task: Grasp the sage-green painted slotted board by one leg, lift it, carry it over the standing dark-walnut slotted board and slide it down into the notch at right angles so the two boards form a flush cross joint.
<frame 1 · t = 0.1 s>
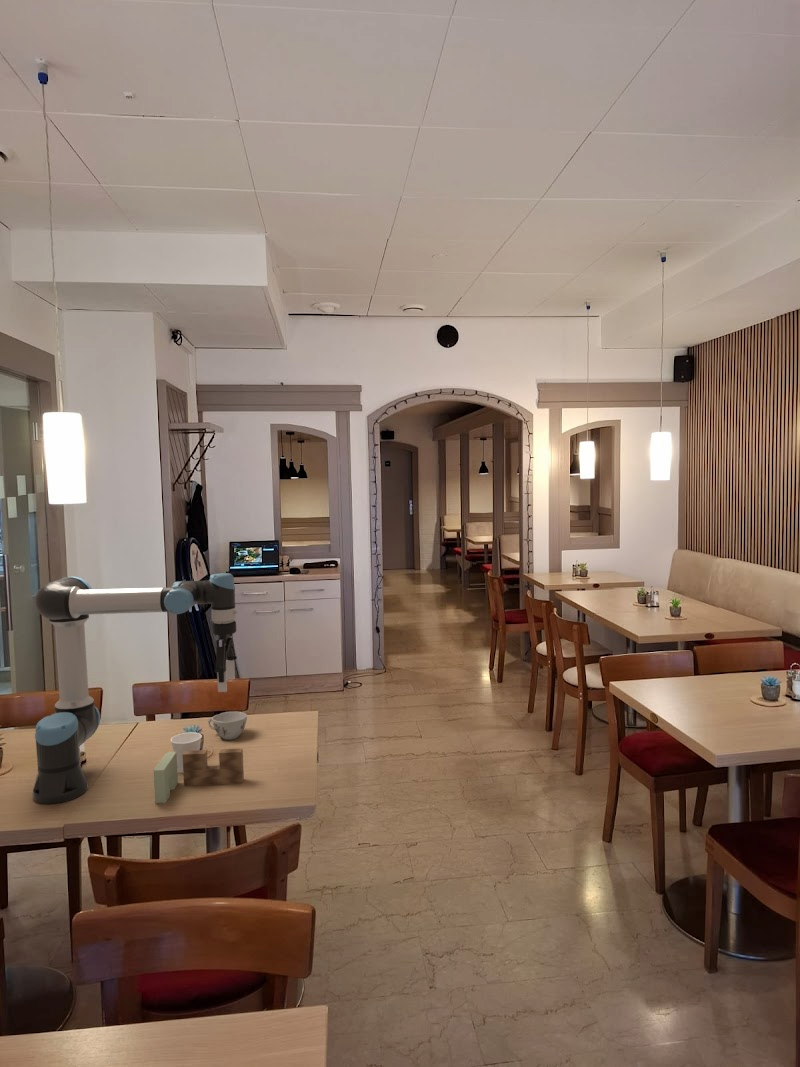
hand: (226, 685, 230), 28 cm above the table, fingers open, 13 cm apart
teacup: (227, 737, 261), on the table
green board: (167, 792, 216), on the table
cup: (187, 770, 232), on the table
walnut board: (214, 782, 222), on the table
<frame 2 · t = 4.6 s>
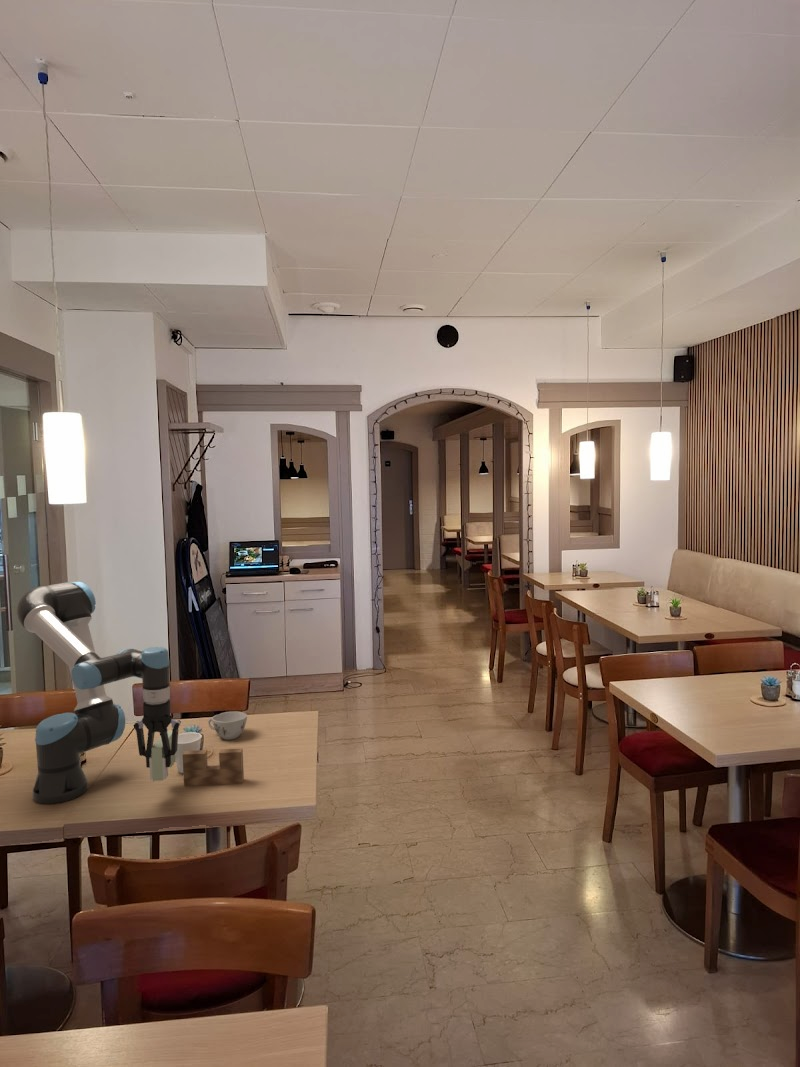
hand: (159, 777, 210), 7 cm above the table, fingers closed on green board, 3 cm apart
green board: (164, 770, 215), point 7 cm above the table, touching gripper
everything else where it was.
when the fingers open (1 cm above the table, at t = 8.9 s): green board stays where it is, on the table.
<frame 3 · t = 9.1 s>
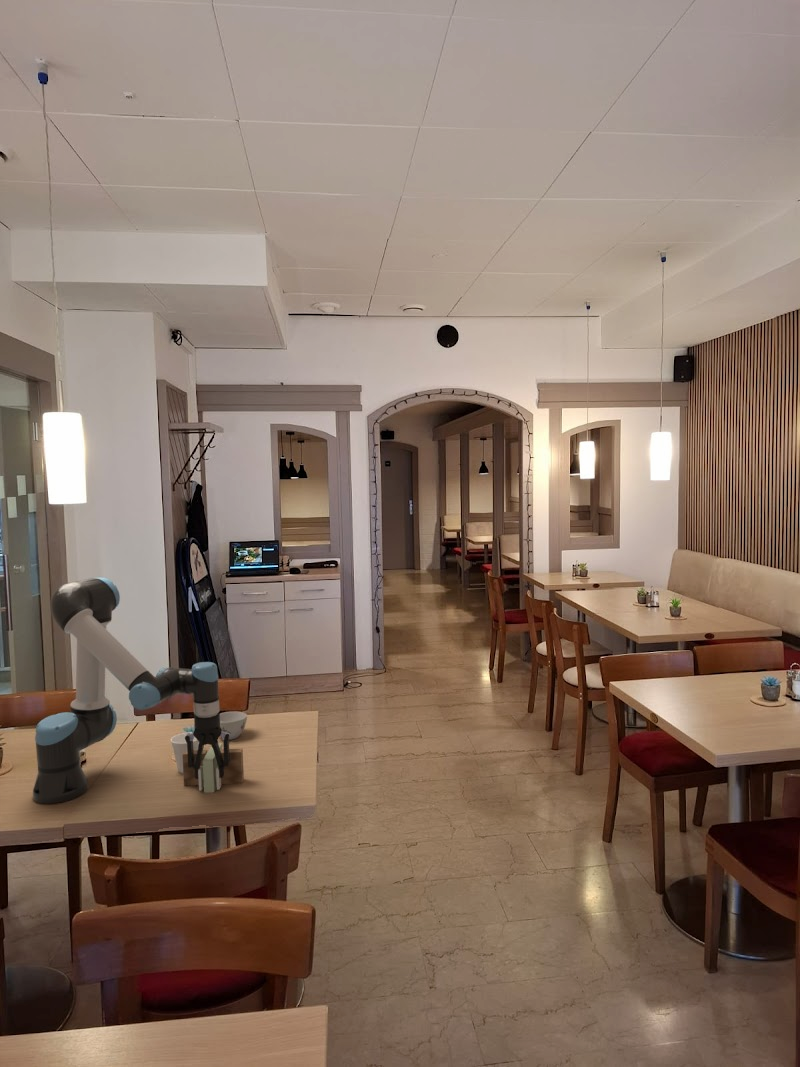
hand: (210, 787, 217), 1 cm above the table, fingers open, 5 cm apart
green board: (213, 782, 222), on the table
everything else where it was.
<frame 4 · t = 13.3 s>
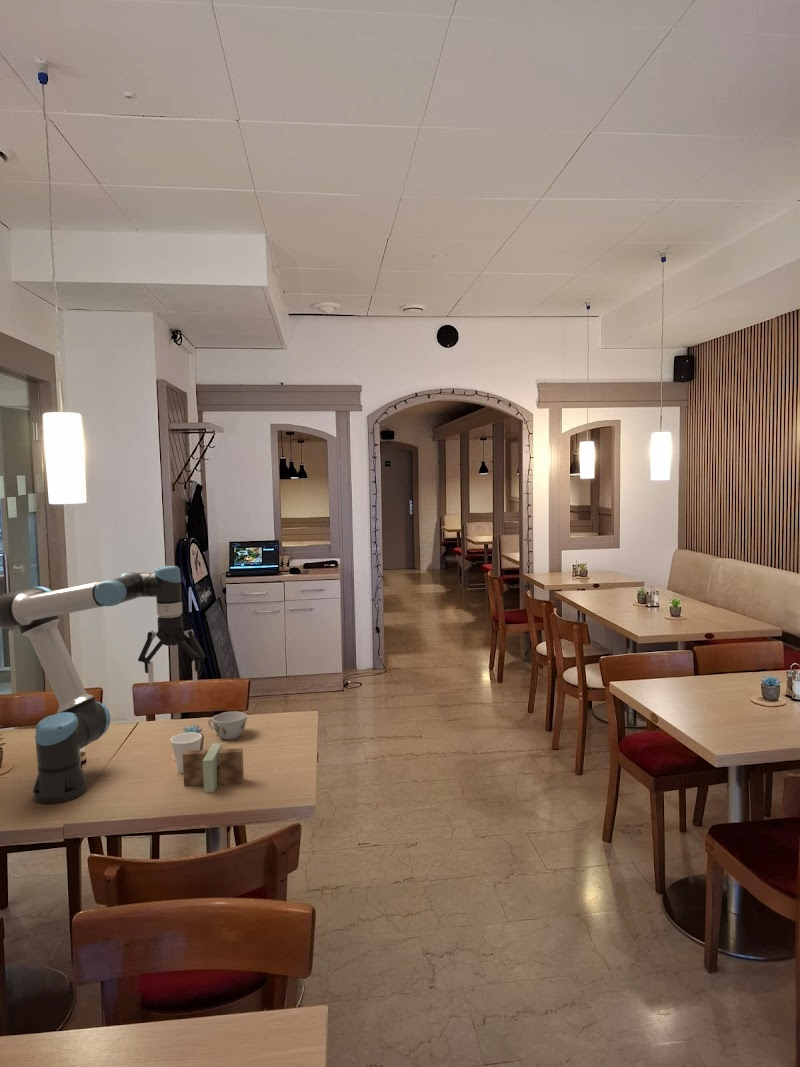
hand: (173, 682, 222), 32 cm above the table, fingers open, 13 cm apart
nothing on the table moved.
at the end: green board 0.1 cm from the target spot, on the table; green board tilted 0°; the gripper is holding nothing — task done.
